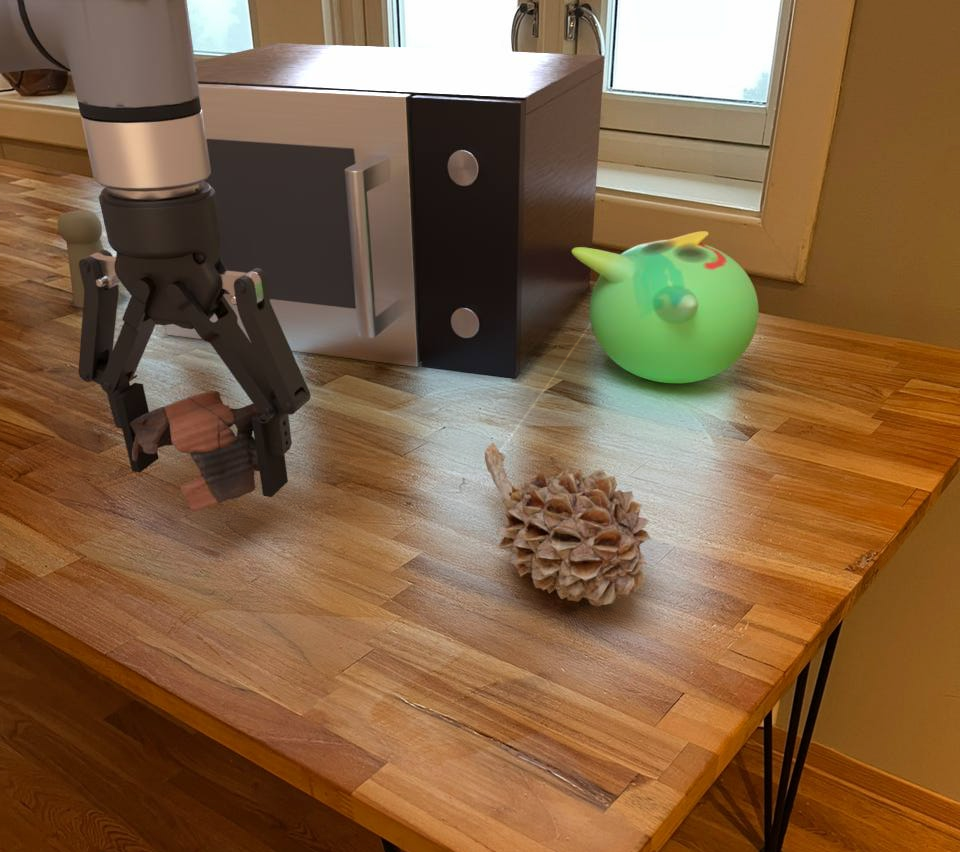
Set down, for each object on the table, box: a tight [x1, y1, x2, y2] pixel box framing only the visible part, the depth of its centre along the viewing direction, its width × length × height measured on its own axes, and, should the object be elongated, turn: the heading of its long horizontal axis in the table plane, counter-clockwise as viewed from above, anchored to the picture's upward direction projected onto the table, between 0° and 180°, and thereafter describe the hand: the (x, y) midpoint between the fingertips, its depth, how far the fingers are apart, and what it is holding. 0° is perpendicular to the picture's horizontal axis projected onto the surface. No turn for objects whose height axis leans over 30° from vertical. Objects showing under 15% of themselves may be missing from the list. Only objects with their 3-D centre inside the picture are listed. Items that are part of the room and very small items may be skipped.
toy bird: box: [572, 230, 760, 384], centre depth 102 cm, size 18×17×15 cm
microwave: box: [195, 42, 605, 379], centre depth 115 cm, size 35×44×27 cm
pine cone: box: [484, 441, 652, 607], centre depth 73 cm, size 22×10×10 cm, turn 30°
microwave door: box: [164, 84, 422, 368], centre depth 102 cm, size 9×33×27 cm, turn 71°
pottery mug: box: [130, 390, 260, 512], centre depth 77 cm, size 12×10×8 cm
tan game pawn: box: [57, 210, 122, 308], centre depth 123 cm, size 6×6×11 cm
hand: (209, 476), depth 78 cm, fingers closed on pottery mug, 11 cm apart
